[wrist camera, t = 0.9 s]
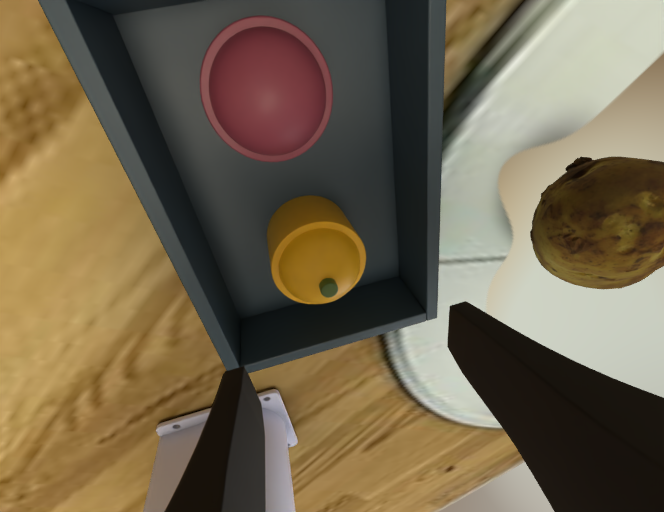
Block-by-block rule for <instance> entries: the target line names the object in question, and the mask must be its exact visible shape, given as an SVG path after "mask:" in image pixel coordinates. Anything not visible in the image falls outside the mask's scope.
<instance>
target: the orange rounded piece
mask: <svg viewBox="0 0 664 512" xmlns="http://www.w3.org/2000/svg"><path fill="white" fill-rule="evenodd" d="M267 243H268V251H269V258H270V266H271V273H272V277H273V280H274V283H275V284H276V286H277V288H278V289H279V290H280V291H281V292H282V293H283V294H284V295H285V296H287V297H288V298H290V299H292V300H294V301H297V302H300V303H304V304H324V303H329V302H332V301H335V300H337V299H339V298H341V297H342V296H344V295H345V294H346V293H347V292H349V291H350V290H351V289H352V288H353V287H354V286H355V285H356V284H357V282H358V281H359V280H360V278H361V276H362V274H363V271H364V269H365V265H366V251H365V247H364V244H363V242H362V240H361V238H360V237H359V236H358V234H357V233H356V231H355V230H354V228H353V227H352V225H351V224H350V222H349V221H348V219H347V218H346V216H345V215H344V213H343V212H342V210H341V209H340V208H339V207H338V206H337V205H336V204H335V203H333V202H332V201H330V200H328V199H326V198H323V197H320V196H312V195H309V196H301V197H297V198H294V199H292V200H289V201H288V202H286V203H284V204H283V205H282V206H281V207H279V209H278V210H277V211H276V212H275V213H274V214H273V216H272V218H271V220H270V222H269V224H268V228H267Z"/></svg>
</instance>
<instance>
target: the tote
mask: <svg viewBox="0 0 664 512" xmlns="http://www.w3.org/2000/svg"><path fill="white" fill-rule="evenodd" d="M38 1H39V3H40V5H41V7H42V9H43V11H44V13H45V15H46V17H47V19H48V21H49V23H50V25H51V27H52V29H53V31H54V33H55V34H56V36H57V38H58V40H59V42H60V44H61V46H62V48H63V50H64V52H65V54H66V56H67V58H68V60H69V62H70V64H71V66H72V68H73V70H74V72H75V74H76V76H77V78H78V80H79V82H80V84H81V85H82V87H83V89H84V91H85V93H86V95H87V97H88V99H89V101H90V103H91V105H92V107H93V109H94V111H95V113H96V115H97V117H98V119H99V121H100V123H101V125H102V127H103V129H104V131H105V133H106V135H107V137H108V138H109V140H110V142H111V144H112V146H113V148H114V150H115V152H116V154H117V156H118V158H119V160H120V162H121V164H122V166H123V168H124V170H125V172H126V174H127V176H128V178H129V180H130V182H131V184H132V186H133V188H134V189H135V191H136V193H137V195H138V197H139V199H140V201H141V203H142V205H143V207H144V209H145V211H146V213H147V215H148V217H149V219H150V221H151V223H152V225H153V227H154V229H155V231H156V233H157V235H158V237H159V239H160V241H161V242H162V244H163V246H164V248H165V250H166V252H167V254H168V256H169V258H170V260H171V262H172V264H173V266H174V268H175V270H176V272H177V274H178V276H179V278H180V280H181V282H182V284H183V286H184V288H185V290H186V292H187V293H188V295H189V297H190V299H191V301H192V303H193V305H194V307H195V309H196V311H197V313H198V315H199V317H200V319H201V321H202V323H203V325H204V327H205V329H206V331H207V333H208V335H209V337H210V339H211V341H212V343H213V344H214V346H215V348H216V350H217V352H218V354H219V356H220V358H221V360H222V362H223V364H224V366H225V368H226V370H227V371H229V370H232V369H235V368H239V367H242V366H244V367H245V369H246V371H247V373H251V372H255V371H258V370H261V369H265V368H268V367H272V366H275V365H278V364H282V363H285V362H289V361H292V360H295V359H299V358H302V357H306V356H309V355H312V354H316V353H319V352H322V351H326V350H329V349H333V348H336V347H339V346H343V345H346V344H350V343H353V342H356V341H360V340H363V339H367V338H370V337H373V336H377V335H380V334H384V333H387V332H390V331H394V330H397V329H401V328H404V327H407V326H411V325H414V324H418V323H421V322H424V321H426V320H431V319H435V318H437V301H438V267H439V233H440V198H441V164H442V130H443V95H444V61H445V27H446V0H38ZM260 15H261V16H272V17H276V18H280V19H282V20H285V21H287V22H290V23H291V24H293V25H295V26H297V27H298V28H299V29H301V30H302V31H303V32H305V33H306V34H307V35H308V36H309V37H310V38H311V39H312V40H313V42H314V43H315V44H316V46H317V47H318V48H319V50H320V51H321V53H322V55H323V56H324V59H325V61H326V63H327V65H328V68H329V72H330V75H331V80H332V86H333V104H332V111H331V115H330V118H329V121H328V124H327V126H326V128H325V130H324V132H323V134H322V135H321V137H320V138H319V139H318V141H317V142H316V143H315V144H314V145H313V146H312V147H311V148H310V149H308V150H307V151H306V152H304V153H303V154H301V155H299V156H297V157H295V158H293V159H290V160H286V161H281V162H262V161H258V160H254V159H251V158H248V157H246V156H244V155H242V154H240V153H238V152H237V151H235V150H234V149H232V148H231V147H230V146H229V145H227V144H226V143H225V142H224V141H223V140H222V139H221V138H220V137H219V135H218V134H217V133H216V131H215V130H214V129H213V127H212V125H211V124H210V122H209V120H208V118H207V115H206V113H205V111H204V108H203V104H202V100H201V94H200V71H201V66H202V62H203V58H204V56H205V53H206V51H207V49H208V47H209V45H210V44H211V42H212V41H213V39H214V38H215V37H216V36H217V34H218V33H220V32H221V31H222V30H223V29H224V28H225V27H227V26H228V25H230V24H231V23H233V22H235V21H237V20H240V19H242V18H246V17H250V16H260ZM309 195H312V196H320V197H323V198H326V199H328V200H330V201H332V202H333V203H335V204H336V205H337V206H338V207H339V208H340V209H341V210H342V212H343V213H344V215H345V216H346V218H347V219H348V221H349V222H350V224H351V225H352V227H353V228H354V230H355V231H356V233H357V234H358V236H359V237H360V238H361V240H362V242H363V244H364V247H365V251H366V265H365V269H364V271H363V274H362V276H361V278H360V280H359V281H358V282H357V284H356V285H355V286H354V287H353V288H352V289H351V290H350V291H349V292H347V293H346V294H345V295H344V296H342V297H341V298H339V299H337V300H335V301H332V302H329V303H324V304H304V303H300V302H297V301H294V300H292V299H290V298H288V297H287V296H285V295H284V294H283V293H282V292H281V291H280V290H279V289H278V288H277V286H276V284H275V283H274V280H273V277H272V273H271V266H270V258H269V251H268V243H267V228H268V224H269V222H270V220H271V218H272V216H273V214H274V213H275V212H276V211H277V210H278V209H279V207H281V206H282V205H283V204H284V203H286V202H288V201H289V200H292V199H294V198H297V197H301V196H309Z"/></svg>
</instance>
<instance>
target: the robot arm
mask: <svg viewBox="0 0 664 512" xmlns="http://www.w3.org/2000/svg"><path fill="white" fill-rule="evenodd" d="M448 348H449V350H450V352H451V354H452V355H453V357H454V359H455V361H456V363H457V364H458V366H459V368H460V369H461V371H462V373H463V374H464V376H465V377H466V378H467V380H468V381H469V383H470V384H471V385H472V387H473V388H474V389H475V391H476V392H477V394H478V395H479V396H480V398H481V399H482V400H483V402H484V403H485V404H486V406H487V407H488V408H489V410H490V411H491V412H492V414H493V415H494V417H495V418H496V419H497V421H498V422H499V423H500V425H501V426H502V427H503V429H504V430H505V431H506V433H507V434H508V436H509V437H510V439H511V440H512V442H513V443H514V445H515V446H516V448H517V449H518V451H519V453H520V454H521V456H522V458H523V459H524V461H525V462H526V464H527V466H528V467H529V469H530V470H531V472H532V474H533V475H534V477H535V479H536V481H537V482H538V484H539V486H540V487H541V489H542V491H543V493H544V494H545V496H546V498H547V499H548V501H549V503H550V504H551V506H552V508H553V510H554V511H555V512H664V398H662V397H660V396H657V395H654V394H652V393H649V392H647V391H644V390H641V389H639V388H636V387H633V386H631V385H628V384H626V383H623V382H621V381H618V380H616V379H613V378H611V377H609V376H606V375H604V374H601V373H599V372H597V371H595V370H593V369H590V368H588V367H586V366H584V365H581V364H579V363H577V362H575V361H573V360H570V359H569V358H567V357H565V356H563V355H561V354H559V353H557V352H555V351H553V350H550V349H549V348H547V347H545V346H543V345H541V344H539V343H537V342H536V341H534V340H532V339H530V338H528V337H526V336H524V335H523V334H521V333H519V332H517V331H516V330H514V329H512V328H510V327H509V326H507V325H505V324H503V323H502V322H500V321H498V320H497V319H495V318H493V317H492V316H490V315H488V314H487V313H485V312H483V311H482V310H480V309H478V308H477V307H475V306H473V305H471V304H470V303H468V302H462V303H459V304H455V305H452V306H450V312H449V330H448ZM156 432H157V434H158V435H159V436H160V439H159V444H158V448H157V452H156V457H155V461H154V466H153V470H152V475H151V479H150V483H149V488H148V492H147V497H146V501H145V505H144V510H143V512H295V503H294V495H293V486H292V477H291V469H290V460H289V451H288V448H289V447H292V446H295V445H296V444H297V443H298V440H297V436H296V434H295V431H294V429H293V426H292V424H291V421H290V418H289V416H288V413H287V411H286V408H285V406H284V403H283V401H282V398H281V396H280V393H279V391H278V390H276V389H271V390H268V391H265V392H261V393H258V394H257V393H256V391H255V388H254V386H253V384H252V382H251V380H250V377H249V375H248V373H247V371H246V369H245V367H244V366H242V367H239V368H235V369H232V370H229V371H225V373H224V374H223V376H222V379H221V382H220V385H219V388H218V391H217V394H216V397H215V400H214V402H213V405H212V408H209V409H205V410H202V411H199V412H195V413H192V414H189V415H185V416H182V417H179V418H176V419H172V420H169V421H166V422H162V423H160V424H158V425H157V428H156Z"/></svg>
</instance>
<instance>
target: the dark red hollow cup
mask: <svg viewBox="0 0 664 512" xmlns="http://www.w3.org/2000/svg"><path fill="white" fill-rule="evenodd" d="M200 94H201V100H202V104H203V108H204V111H205V113H206V115H207V118H208V120H209V122H210V124H211V125H212V127H213V129H214V130H215V131H216V133H217V134H218V135H219V137H220V138H221V139H222V140H223V141H224V142H225V143H226V144H227V145H229V146H230V147H231V148H232V149H234V150H235V151H237V152H238V153H240V154H242V155H244V156H246V157H248V158H251V159H254V160H258V161H262V162H281V161H286V160H290V159H293V158H295V157H297V156H299V155H301V154H303V153H304V152H306V151H307V150H308V149H310V148H311V147H312V146H313V145H314V144H315V143H316V142H317V141H318V139H319V138H320V137H321V135H322V134H323V132H324V130H325V128H326V126H327V124H328V121H329V118H330V115H331V111H332V104H333V86H332V80H331V75H330V72H329V68H328V65H327V63H326V61H325V59H324V56H323V55H322V53H321V51H320V50H319V48H318V47H317V46H316V44H315V43H314V42H313V40H312V39H311V38H310V37H309V36H308V35H307V34H306V33H305V32H303V31H302V30H301V29H299V28H298V27H297V26H295V25H293V24H291V23H290V22H287V21H285V20H282V19H280V18H276V17H272V16H261V15H260V16H250V17H246V18H242V19H240V20H237V21H235V22H233V23H231V24H230V25H228V26H227V27H225V28H224V29H223V30H222V31H221V32H220V33H218V34H217V36H216V37H215V38H214V39H213V41H212V42H211V44H210V45H209V47H208V49H207V51H206V53H205V56H204V58H203V62H202V66H201V71H200Z"/></svg>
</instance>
